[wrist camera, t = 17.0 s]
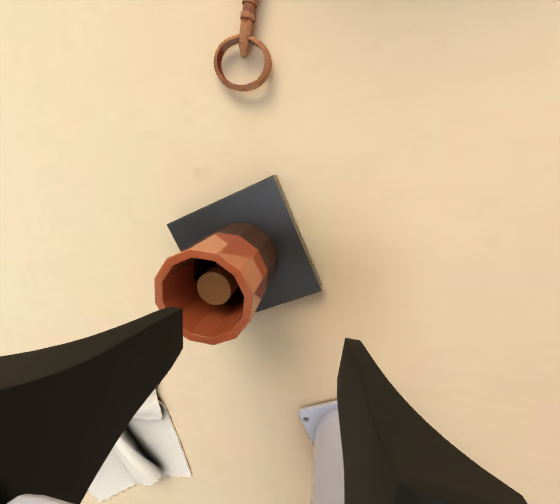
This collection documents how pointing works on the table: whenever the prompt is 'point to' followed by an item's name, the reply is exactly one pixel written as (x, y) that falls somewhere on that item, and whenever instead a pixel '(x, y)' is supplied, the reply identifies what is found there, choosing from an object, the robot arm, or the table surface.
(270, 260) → the walnut ring
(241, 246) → the terracotta ring
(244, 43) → the key
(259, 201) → the peg stand
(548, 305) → the table surface
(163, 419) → the cloth
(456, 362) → the table surface
